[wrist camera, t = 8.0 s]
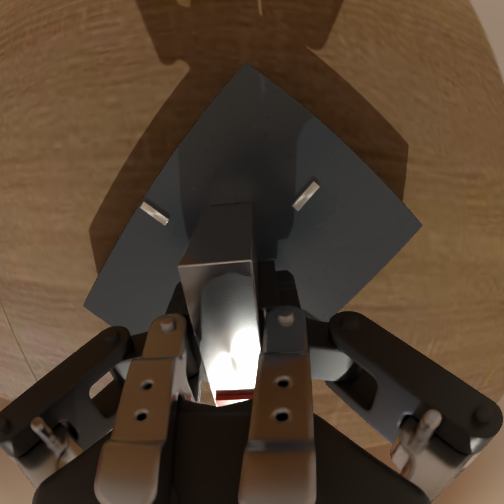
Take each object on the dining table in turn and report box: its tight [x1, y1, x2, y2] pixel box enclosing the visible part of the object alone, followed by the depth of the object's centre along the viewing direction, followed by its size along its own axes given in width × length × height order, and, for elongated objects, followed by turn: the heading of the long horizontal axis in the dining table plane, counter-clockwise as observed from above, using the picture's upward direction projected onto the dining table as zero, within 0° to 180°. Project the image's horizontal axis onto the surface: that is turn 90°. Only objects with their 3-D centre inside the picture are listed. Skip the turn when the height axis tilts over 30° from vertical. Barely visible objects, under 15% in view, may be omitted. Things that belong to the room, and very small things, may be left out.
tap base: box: [83, 62, 422, 383], centre depth 15 cm, size 15×11×3 cm
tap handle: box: [178, 202, 263, 407], centre depth 12 cm, size 6×2×6 cm, turn 6°
